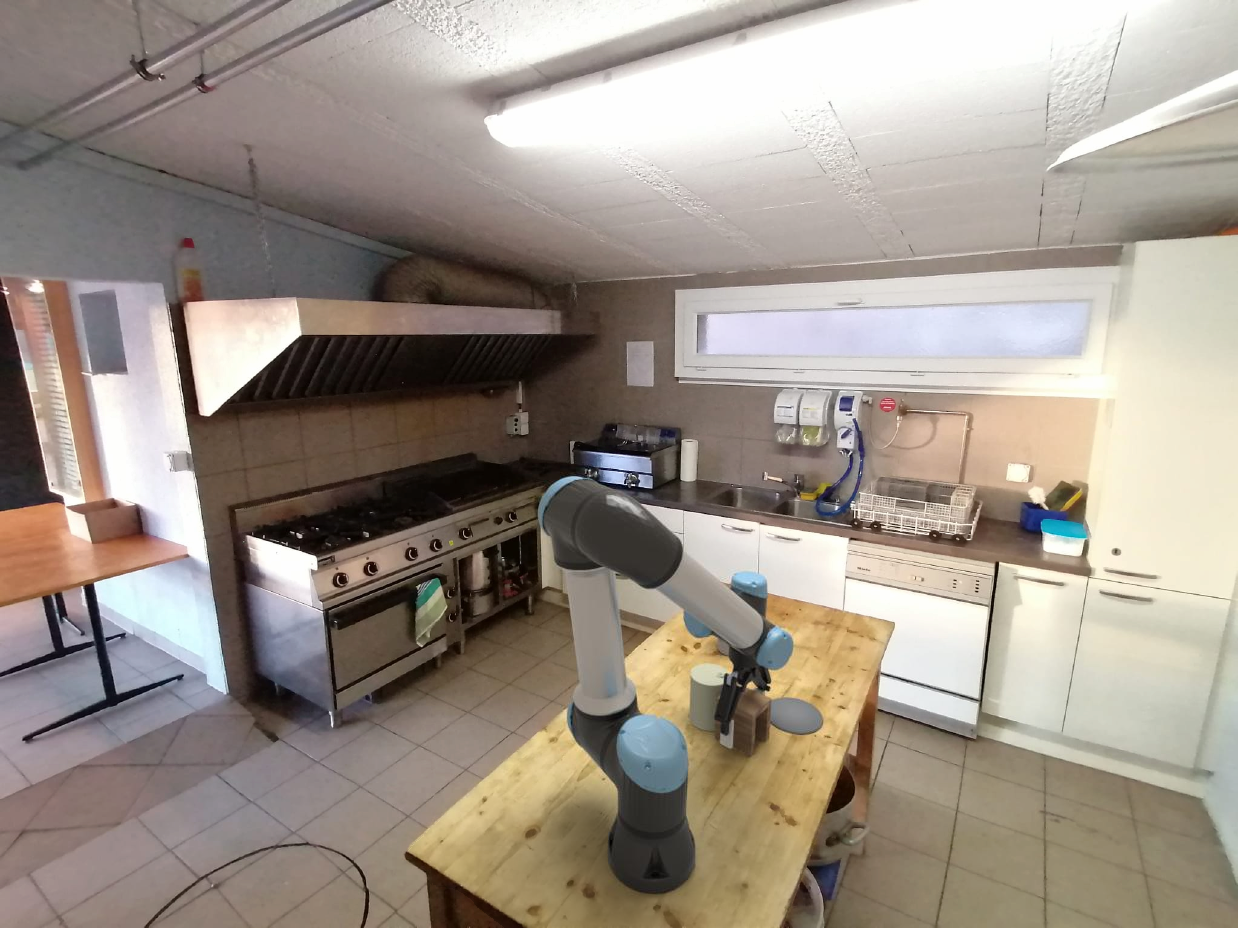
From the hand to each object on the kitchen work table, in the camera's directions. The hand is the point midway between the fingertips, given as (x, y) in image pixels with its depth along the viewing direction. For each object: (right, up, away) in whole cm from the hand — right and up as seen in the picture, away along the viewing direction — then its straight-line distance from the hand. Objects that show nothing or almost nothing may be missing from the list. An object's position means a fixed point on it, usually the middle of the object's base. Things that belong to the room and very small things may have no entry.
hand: (742, 729), depth 131 cm
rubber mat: (+14, 0, +8) cm, 16 cm away
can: (-7, -1, +7) cm, 10 cm away
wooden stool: (0, -2, 0) cm, 2 cm away
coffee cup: (+4, +6, +37) cm, 38 cm away
